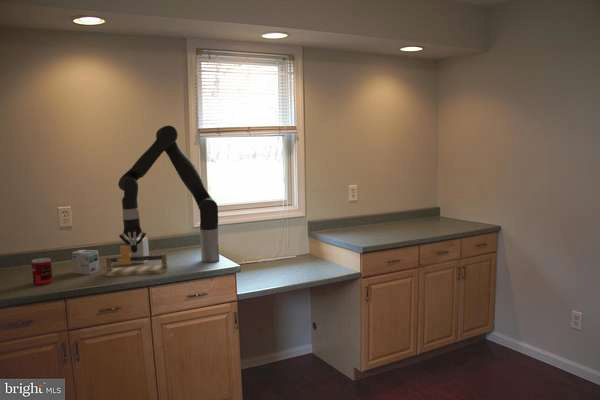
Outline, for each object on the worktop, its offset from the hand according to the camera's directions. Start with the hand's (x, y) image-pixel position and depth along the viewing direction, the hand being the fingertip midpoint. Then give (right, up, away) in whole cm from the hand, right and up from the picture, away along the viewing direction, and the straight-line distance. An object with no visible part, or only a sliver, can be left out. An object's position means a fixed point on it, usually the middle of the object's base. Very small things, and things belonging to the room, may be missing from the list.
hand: (134, 252), depth 240 cm
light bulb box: (-24, -10, +2) cm, 26 cm away
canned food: (-37, -13, -15) cm, 42 cm away
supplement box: (-4, -7, +21) cm, 22 cm away
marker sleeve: (-4, -5, 0) cm, 7 cm away
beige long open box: (+1, -10, +1) cm, 10 cm away
